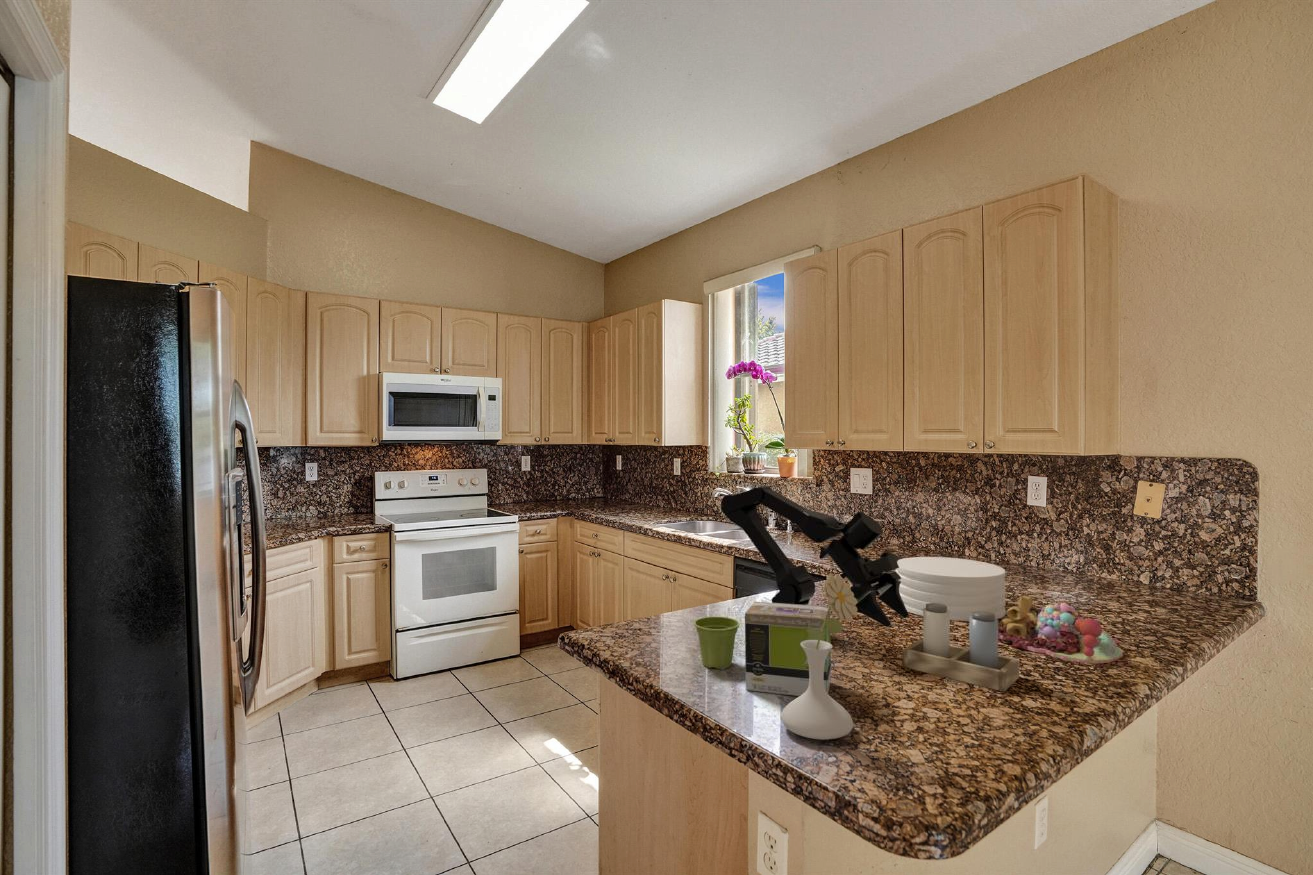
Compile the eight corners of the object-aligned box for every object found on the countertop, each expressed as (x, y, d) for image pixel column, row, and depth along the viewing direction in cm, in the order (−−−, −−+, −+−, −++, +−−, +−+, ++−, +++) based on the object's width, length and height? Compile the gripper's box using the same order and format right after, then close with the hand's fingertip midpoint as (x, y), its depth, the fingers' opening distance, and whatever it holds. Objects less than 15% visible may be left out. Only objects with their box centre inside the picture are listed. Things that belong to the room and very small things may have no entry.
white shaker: (938, 672, 129) (938, 610, 129) (917, 664, 133) (917, 604, 133) (955, 668, 131) (955, 606, 131) (934, 660, 136) (934, 601, 136)
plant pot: (709, 675, 127) (709, 631, 127) (685, 660, 136) (685, 619, 136) (748, 667, 132) (748, 625, 132) (723, 653, 140) (723, 614, 140)
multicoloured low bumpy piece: (982, 644, 147) (982, 604, 147) (1009, 622, 164) (1009, 586, 164) (1115, 671, 130) (1115, 625, 130) (1130, 643, 148) (1130, 603, 148)
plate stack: (922, 590, 198) (922, 553, 198) (1021, 608, 178) (1021, 566, 178) (876, 606, 180) (875, 565, 180) (980, 628, 159) (980, 582, 159)
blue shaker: (981, 683, 123) (980, 618, 123) (963, 673, 128) (963, 611, 128) (1004, 681, 124) (1003, 616, 124) (986, 672, 129) (985, 609, 129)
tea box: (831, 681, 124) (831, 605, 124) (827, 702, 115) (827, 619, 115) (753, 672, 129) (753, 598, 129) (744, 691, 119) (743, 611, 119)
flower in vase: (809, 753, 96) (809, 585, 96) (766, 722, 106) (766, 571, 106) (877, 736, 101) (877, 578, 101) (830, 708, 112) (830, 564, 111)
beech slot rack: (902, 666, 132) (902, 649, 132) (921, 654, 139) (921, 638, 139) (1004, 691, 119) (1004, 672, 119) (1019, 677, 126) (1019, 659, 126)
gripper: (855, 545, 134) (907, 608, 127) (892, 535, 148) (942, 591, 140) (821, 577, 140) (869, 638, 132) (860, 564, 153) (906, 620, 146)
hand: (898, 621), depth 138 cm, fingers open, 9 cm apart
